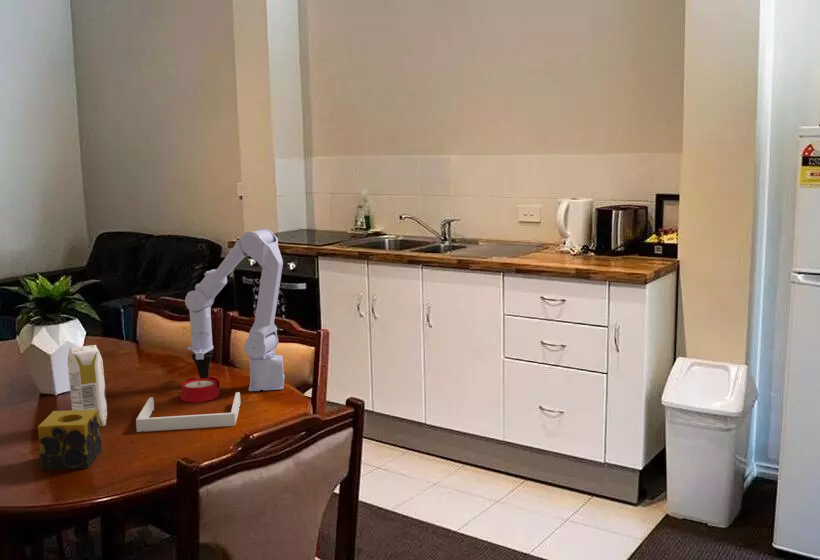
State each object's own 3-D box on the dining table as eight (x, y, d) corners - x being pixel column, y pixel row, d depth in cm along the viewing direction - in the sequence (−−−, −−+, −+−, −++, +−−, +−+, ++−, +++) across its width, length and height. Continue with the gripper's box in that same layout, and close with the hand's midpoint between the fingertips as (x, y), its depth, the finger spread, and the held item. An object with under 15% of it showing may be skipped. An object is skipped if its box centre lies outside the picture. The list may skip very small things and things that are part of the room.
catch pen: (240, 403, 211) (239, 392, 211) (235, 425, 194) (234, 413, 194) (150, 408, 208) (149, 397, 208) (136, 431, 191) (135, 419, 191)
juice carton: (75, 432, 192) (68, 355, 189) (72, 421, 199) (65, 347, 196) (109, 426, 195) (102, 350, 192) (104, 416, 203) (98, 343, 200)
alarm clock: (176, 392, 210) (182, 365, 224) (178, 413, 212) (184, 385, 226) (217, 390, 211) (221, 363, 225) (218, 410, 214) (222, 383, 228)
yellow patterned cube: (56, 453, 179) (52, 410, 177) (103, 451, 180) (99, 408, 178) (39, 471, 169) (34, 426, 167) (89, 469, 170) (84, 423, 168)
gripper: (190, 326, 234) (193, 371, 236) (183, 338, 220) (186, 385, 222) (214, 325, 235) (217, 370, 237) (209, 336, 221) (212, 384, 223)
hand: (204, 377), depth 230 cm, fingers closed
